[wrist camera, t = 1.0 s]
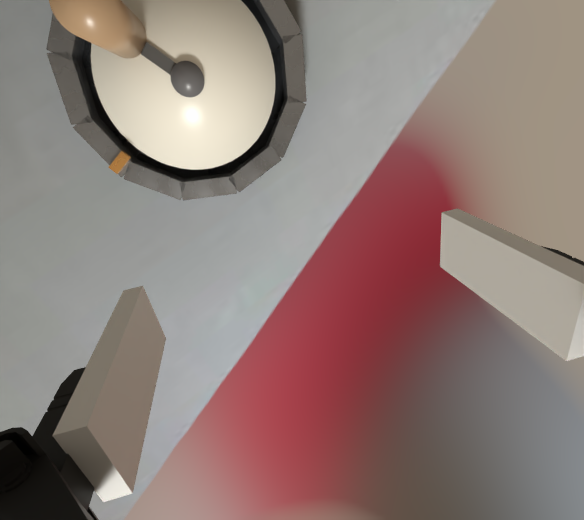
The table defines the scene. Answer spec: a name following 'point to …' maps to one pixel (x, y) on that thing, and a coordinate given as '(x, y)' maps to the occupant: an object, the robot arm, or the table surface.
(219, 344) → the table surface
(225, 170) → the housing
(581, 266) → the robot arm
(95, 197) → the table surface
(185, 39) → the dial
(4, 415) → the table surface
